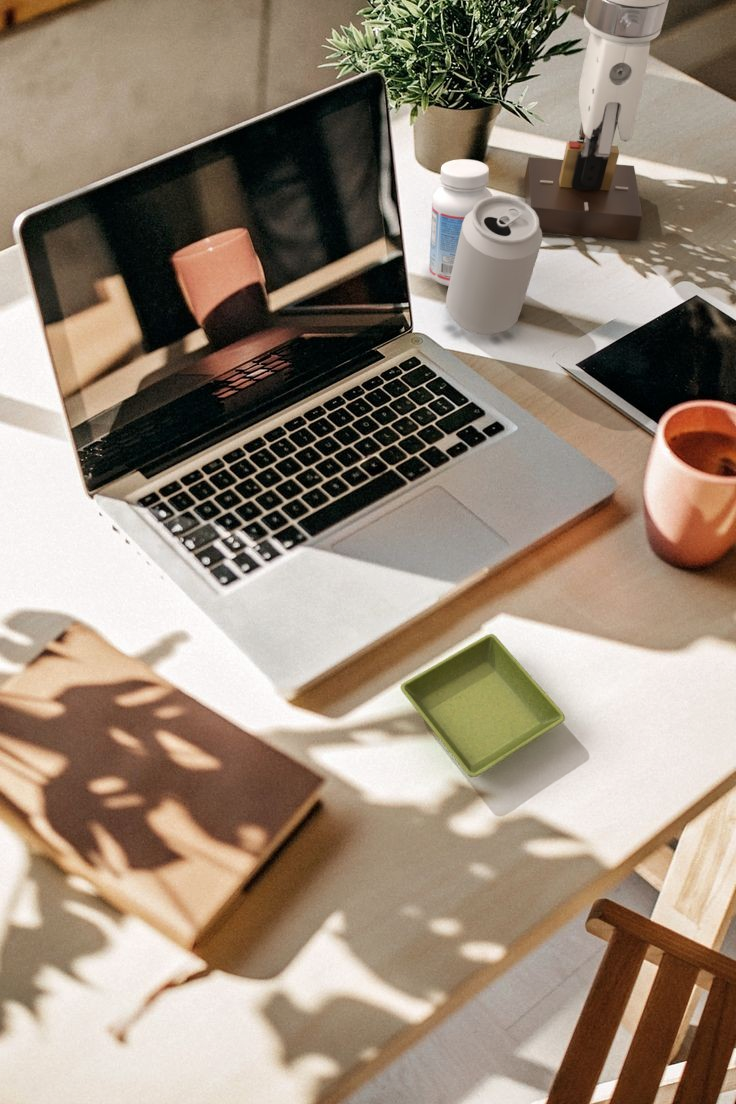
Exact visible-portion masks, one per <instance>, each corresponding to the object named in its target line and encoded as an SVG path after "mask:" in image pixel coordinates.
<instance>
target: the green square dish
mask: <svg viewBox="0 0 736 1104" xmlns="http://www.w3.org/2000/svg"><path fill="white" fill-rule="evenodd" d="M400 690H401V692H402V694H403V695H404V696H405V697H406V698H407V700H408V701H409V702H410V704H411V705H412V706H413V707H414V708H415V710H416V711H417V713H418V714H419V715H420V716H421V718H422V719H423V720H424V722H425V723H426V724H427V725H428V727H429V728H430V729H431V730H432V732H433V733H434V735H436V736H437V738H438V739H439V741H440V742H441V743H442V744H443V745H444V747H445V748H446V750H447V751H448V752H449V753H450V755H451V756H452V758H454V760H455V761H456V763H458V765H459V766H460V767H461V768H462V770H463V771H464V772H465V774H466V775H467V776H468V777H470V778H477V777H479V776H480V775H482V774H483V773H485V772H487V771H488V770H490V769H491V768H493V767H495V766H496V765H497V764H499V763H501V762H502V761H504V760H505V759H507V758H509V757H510V756H512V755H513V754H515V753H516V752H518V751H519V750H521V749H522V748H524V747H526V746H527V745H529V744H531V743H533V741H535V740H537V739H539V738H540V737H542V736H543V735H545V734H546V733H548V732H549V731H551V730H552V729H554V728H556V727H558V726H559V725H561V724H562V723H564V722H565V720H566V716H565V714H564V713H563V711H562V710H561V709H560V708H559V706H558V705H557V704H556V703H555V702H554V701H553V699H551V697H550V696H549V695H548V694H547V693H546V692H545V690H543V688H542V687H541V686H540V685H539V684H538V683H537V681H535V679H534V678H533V677H532V675H530V674H529V673H528V671H527V670H526V669H525V667H523V666H522V664H521V663H520V662H519V661H518V660H517V659H516V658H515V657H514V655H513V654H512V653H511V651H509V649H507V647H506V646H505V644H503V643H502V642H501V640H500V639H499V638H498V636H496V635H495V634H494V633H490V634H486V635H485V636H483V637H481V638H479V639H477V640H476V641H474V642H472V643H471V644H468V645H467V646H464V647H463V648H462V649H460V650H458V651H457V652H456V653H453V654H452V655H450V656H448V657H446V658H445V659H443V660H441V661H440V662H438V663H436V664H434V665H432V666H431V667H429V668H428V669H425V670H424V671H422V672H420V673H418V674H416V675H415V676H413V677H411V678H409V679H407V680H406V681H404V682H402V683H401V685H400Z"/></svg>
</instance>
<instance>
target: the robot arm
mask: <svg viewBox="0 0 736 1104" xmlns="http://www.w3.org/2000/svg"><path fill="white" fill-rule="evenodd" d="M669 1H670V0H587V1H586V4H585V10H584V15H583V19H582V21H583V25H584V27H585V29H587V30H588V31H589V32H590V35H589V37H588V42H587V47H586V51H585V55H584V60H583V64H582V69H581V74H580V75H581V76H580V79H579V85H578V87H579V88H578V105H579V113H580V119H581V123H580V127H579V131H578V140H576V142H579V143H582V144H583V147H582V153H581V152H578V156H577V161H576V165H575V170H574V174H573V179H572V188H573V189H583V190H600V189H601V186H602V182H603V178H604V174H605V170H606V166H607V162H608V158H609V155H610V150H611V146H613V141H614V137H615V134H616V130H617V128H618V133H619V138H620V141H623V142H625V143H627V142H629V141H630V140H631V139H632V138H633V134H634V130H635V125H636V120H637V117H638V116H637V115H638V111H639V108H640V107H639V106H640V102H641V97H642V93H643V89H644V85H645V79H646V74H647V69H648V62H649V56H650V48H651V41H652V40H654V39H657V38H658V36H659V35H660V34H661V31H662V27H663V24H664V21H665V17H666V12H667V9H668V4H669Z"/></svg>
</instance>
